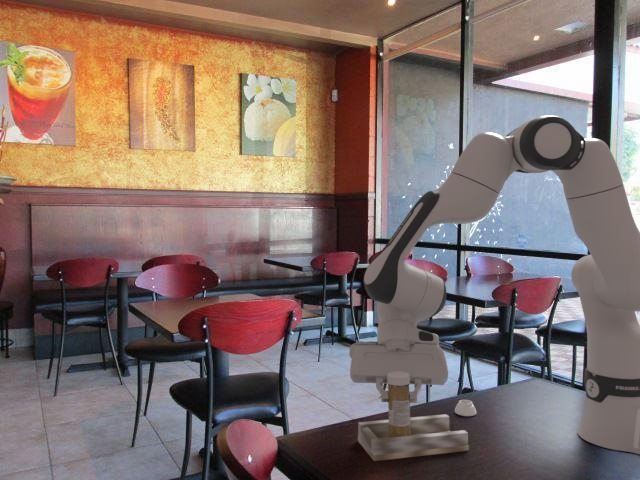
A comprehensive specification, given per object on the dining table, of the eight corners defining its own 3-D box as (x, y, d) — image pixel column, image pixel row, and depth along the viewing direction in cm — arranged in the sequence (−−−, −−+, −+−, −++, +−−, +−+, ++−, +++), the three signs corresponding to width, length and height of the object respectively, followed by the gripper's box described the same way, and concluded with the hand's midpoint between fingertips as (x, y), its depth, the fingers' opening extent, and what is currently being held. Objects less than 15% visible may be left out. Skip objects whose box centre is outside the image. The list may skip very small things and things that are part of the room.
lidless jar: (472, 419, 130) (479, 413, 134) (472, 406, 130) (479, 400, 134) (451, 414, 133) (459, 408, 137) (451, 402, 133) (459, 397, 137)
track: (445, 431, 122) (445, 413, 122) (468, 450, 112) (468, 430, 112) (357, 440, 117) (357, 422, 117) (374, 461, 107) (374, 440, 107)
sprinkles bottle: (389, 434, 116) (387, 370, 116) (412, 435, 115) (410, 370, 115) (387, 443, 112) (385, 376, 111) (410, 444, 111) (409, 376, 110)
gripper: (349, 333, 121) (347, 392, 111) (445, 335, 119) (451, 395, 109) (350, 349, 125) (348, 406, 116) (443, 351, 123) (448, 410, 114)
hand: (399, 401), depth 113 cm, fingers closed on sprinkles bottle, 4 cm apart
